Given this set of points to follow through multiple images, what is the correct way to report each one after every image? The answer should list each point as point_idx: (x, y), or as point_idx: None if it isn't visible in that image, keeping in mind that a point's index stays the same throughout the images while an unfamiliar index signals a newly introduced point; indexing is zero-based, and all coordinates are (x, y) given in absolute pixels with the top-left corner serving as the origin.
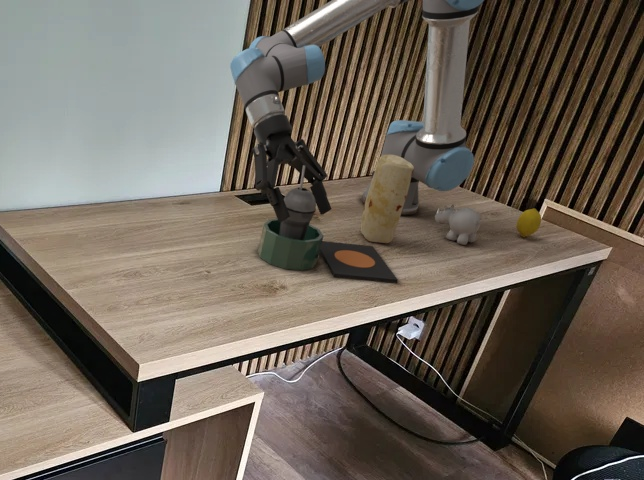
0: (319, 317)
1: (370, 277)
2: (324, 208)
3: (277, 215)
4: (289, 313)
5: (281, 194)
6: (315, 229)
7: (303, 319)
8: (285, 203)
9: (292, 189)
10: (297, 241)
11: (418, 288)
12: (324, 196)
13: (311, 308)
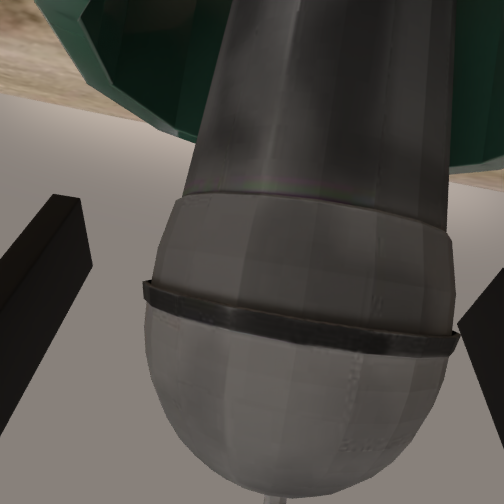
0: (98, 109)
1: None
2: (482, 321)
3: (30, 234)
4: (20, 79)
5: (12, 410)
6: (492, 156)
7: (50, 97)
8: (147, 325)
9: (228, 477)
10: (190, 139)
11: (462, 175)
12: (490, 410)
13: (101, 95)
